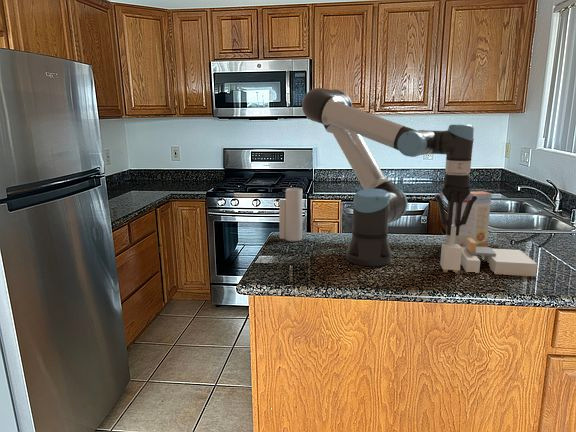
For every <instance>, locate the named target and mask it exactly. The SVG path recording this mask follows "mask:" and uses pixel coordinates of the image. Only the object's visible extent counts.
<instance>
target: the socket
mask: <svg viewBox="0 0 576 432" xmlns="http://www.w3.org/2000/svg"><path fill="white" fill-rule="evenodd" d="M461 248H462V254H461V264H460V266H461V267H462V266H463V267H462V268H463V270H464V272H466V273H468V272H475V273H474V274H479V273H480V269H481V268H480V267H481V260H482V259H483V260H484V261H483V260H482V261H483V262H486V261H487V263H489V264H488V266H489V267H490V268H489V267H488V268H489V269H490V270H491V272H492V273H493V272H494V275H502V274H503V275H505V276H506V275H508V276H522V277H525V276H526V277H537V269H538V263H537V262H536V261H535V260H533V259H532V258H531V257H529V255H527V254H526V253H524V252H523V251H522V250H520V249H508V248H507V249H506V248H505V249H504V248H491V249H492V250H493V251H494V252H495V253H496V256H483V255H481V259H479V258H478V255H471V254H470V253H469V252H468V251H467V250H466V248H465V247H461Z"/></svg>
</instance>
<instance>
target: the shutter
mask: <svg viewBox="0 0 576 432" xmlns="http://www.w3.org/2000/svg"><path fill="white" fill-rule="evenodd" d="M476 244H477V243H476V242H475V241H474V240H473V239H472V238H467V243H466V247H465V248H466V250H467V251H468V252H469V253H470V254H471V255H476V256H482V255H483V256H496V253H495V252H494V251H493V250H492V249H493V248H491V247H489V246H487V247H476Z"/></svg>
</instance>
